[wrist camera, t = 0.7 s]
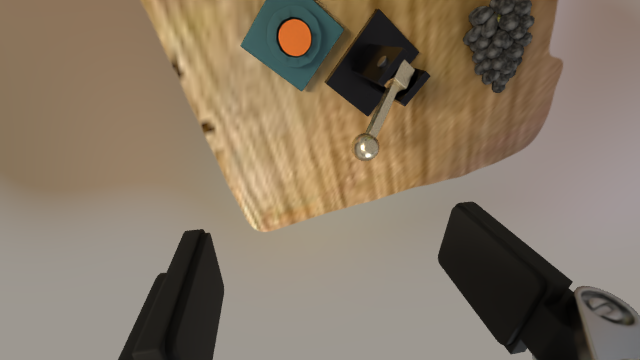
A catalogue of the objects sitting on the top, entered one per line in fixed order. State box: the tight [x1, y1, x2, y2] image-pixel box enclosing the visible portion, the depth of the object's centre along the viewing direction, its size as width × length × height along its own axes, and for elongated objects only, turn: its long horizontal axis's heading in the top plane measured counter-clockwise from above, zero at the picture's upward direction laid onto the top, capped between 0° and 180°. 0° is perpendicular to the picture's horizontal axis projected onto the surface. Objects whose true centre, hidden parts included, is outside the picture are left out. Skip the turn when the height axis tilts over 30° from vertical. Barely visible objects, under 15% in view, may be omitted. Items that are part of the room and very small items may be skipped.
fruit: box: [463, 0, 534, 93], centre depth 39 cm, size 9×8×15 cm
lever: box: [351, 60, 415, 161], centre depth 31 cm, size 13×3×3 cm
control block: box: [241, 0, 344, 91], centre depth 35 cm, size 10×10×4 cm
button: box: [278, 19, 311, 56], centre depth 33 cm, size 4×4×2 cm
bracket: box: [325, 9, 430, 116], centre depth 36 cm, size 12×9×12 cm
